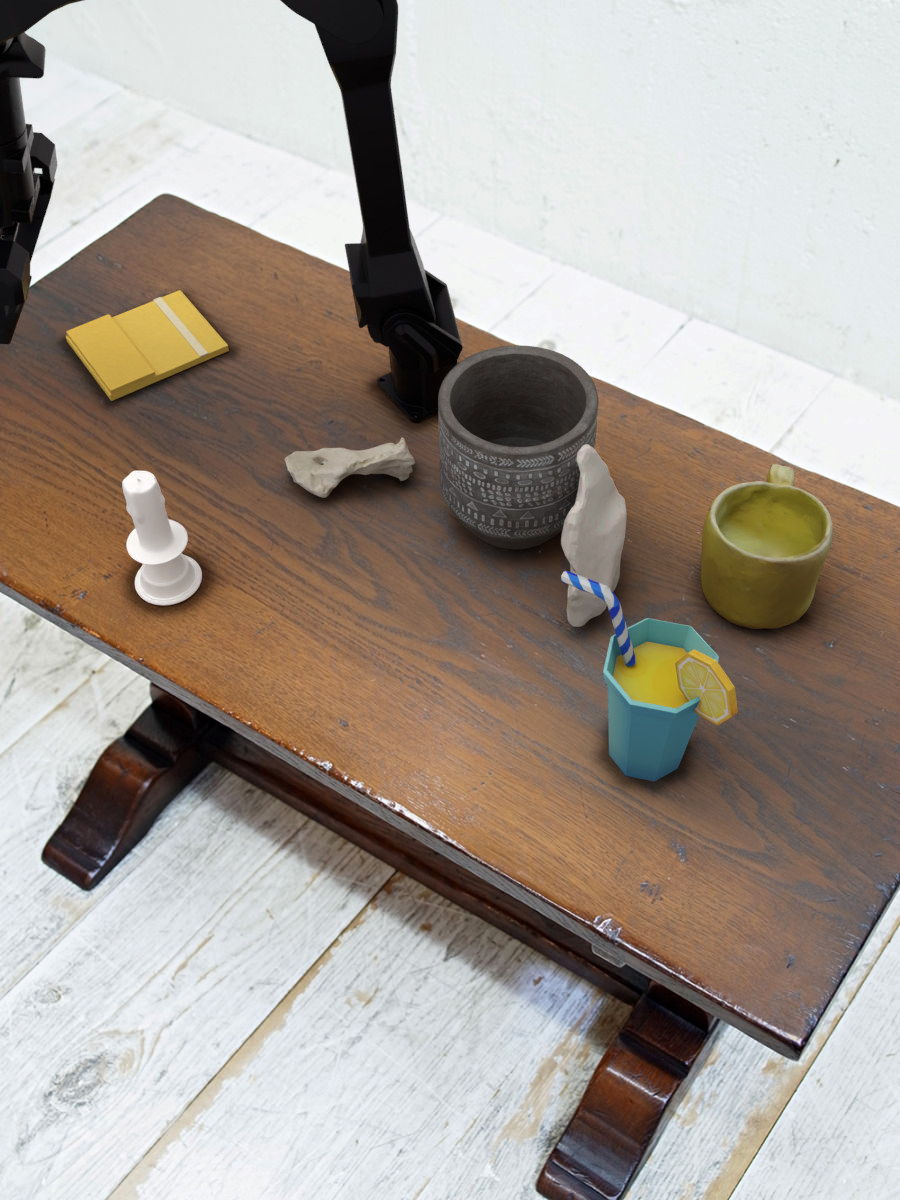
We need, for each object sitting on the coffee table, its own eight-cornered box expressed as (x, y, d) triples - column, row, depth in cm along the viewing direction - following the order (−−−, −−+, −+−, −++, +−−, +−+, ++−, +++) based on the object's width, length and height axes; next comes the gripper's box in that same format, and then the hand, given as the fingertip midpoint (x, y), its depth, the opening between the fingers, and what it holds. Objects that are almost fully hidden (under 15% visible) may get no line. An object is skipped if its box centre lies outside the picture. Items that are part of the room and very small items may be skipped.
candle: (188, 611, 101) (158, 507, 92) (124, 599, 102) (88, 495, 92) (211, 561, 104) (185, 455, 95) (150, 550, 105) (118, 444, 96)
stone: (623, 644, 97) (602, 498, 87) (569, 641, 99) (541, 497, 88) (642, 546, 104) (624, 399, 94) (591, 544, 105) (568, 400, 95)
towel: (229, 351, 120) (227, 340, 119) (111, 401, 116) (108, 391, 115) (181, 295, 126) (179, 285, 125) (67, 341, 122) (63, 331, 121)
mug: (813, 657, 95) (806, 542, 90) (683, 635, 100) (670, 525, 95) (863, 570, 103) (860, 459, 98) (740, 554, 108) (731, 449, 103)
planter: (588, 462, 110) (598, 345, 100) (588, 571, 103) (600, 457, 93) (446, 457, 111) (442, 341, 101) (436, 565, 103) (431, 451, 93)
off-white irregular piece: (285, 468, 111) (278, 430, 107) (403, 445, 112) (401, 407, 109) (296, 515, 107) (290, 477, 104) (418, 491, 109) (416, 453, 105)
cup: (524, 732, 93) (530, 603, 82) (582, 661, 97) (596, 529, 86) (692, 833, 88) (724, 711, 76) (747, 754, 92) (785, 627, 80)
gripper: (-109, 49, 95) (-71, 229, 107) (-170, 192, 84) (-120, 377, 95) (47, 63, 97) (67, 239, 109) (8, 205, 85) (35, 385, 97)
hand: (12, 305), depth 102 cm, fingers open, 9 cm apart
